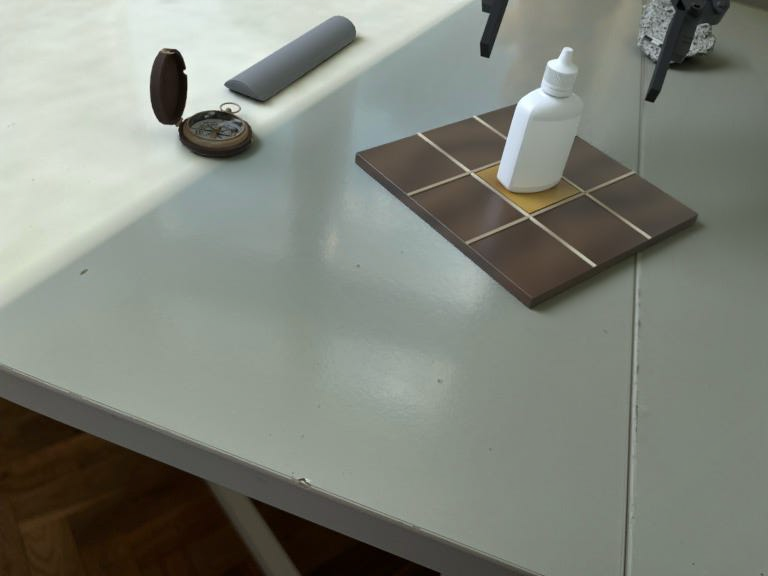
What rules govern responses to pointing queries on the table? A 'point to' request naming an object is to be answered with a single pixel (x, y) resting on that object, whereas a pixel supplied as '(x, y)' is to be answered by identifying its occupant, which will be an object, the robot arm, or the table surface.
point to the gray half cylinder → (294, 59)
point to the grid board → (524, 205)
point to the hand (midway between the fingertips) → (566, 73)
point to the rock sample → (656, 27)
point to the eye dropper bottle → (543, 130)
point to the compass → (202, 129)
